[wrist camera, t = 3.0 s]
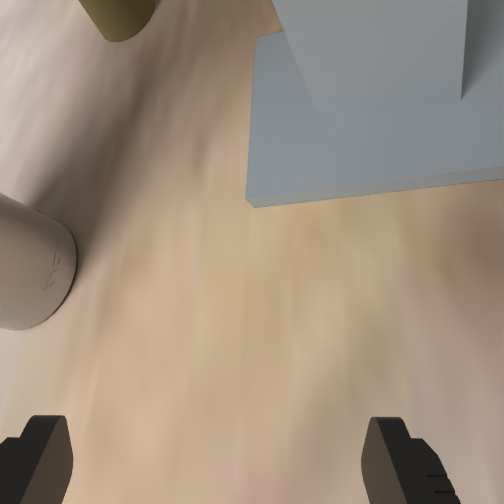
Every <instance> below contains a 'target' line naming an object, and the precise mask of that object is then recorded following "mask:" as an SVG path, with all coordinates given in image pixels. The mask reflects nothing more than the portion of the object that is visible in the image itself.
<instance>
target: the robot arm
mask: <svg viewBox="0 0 504 504" xmlns="http://www.w3.org/2000/svg"><path fill="white" fill-rule="evenodd" d="M76 259H77V256H76V246H75V243H74V240H73V237H72V235H71V234H70V232H69V230H68V229H67V228H66V227H65V226H64V225H62V224H61V223H59V222H57V221H55V220H53V219H51V218H49V217H47V216H45V215H43V214H41V213H39V212H37V211H35V210H33V209H31V208H29V207H27V206H25V205H23V204H21V203H19V202H18V201H15V200H13V199H11V198H9V197H7V196H5V195H3V194H1V193H0V328H4V329H10V330H25V329H28V328H32V327H34V326H36V325H38V324H40V323H41V322H43V321H44V320H45V319H46V318H48V317H49V316H50V315H51V314H52V313H53V312H54V311H55V310H56V309H57V308H58V306H59V305H60V304H61V302H62V301H63V299H64V297H65V296H66V294H67V292H68V290H69V288H70V286H71V283H72V280H73V277H74V273H75V269H76ZM361 468H362V476H363V481H364V484H365V488H366V491H367V495H368V498H369V502H370V504H461V503H460V500H459V498H458V496H457V495H455V490H454V488H453V486H452V484H451V482H450V480H449V479H448V478H447V473H446V471H445V469H444V467H443V465H442V463H441V461H440V459H439V457H438V455H437V454H436V453H435V452H434V451H433V450H432V449H431V447H430V446H429V445H428V444H427V443H426V442H425V441H424V440H423V439H418V438H411V437H410V435H409V433H408V430H407V428H406V426H405V423H404V421H403V420H402V419H401V418H400V417H372V418H371V419H370V422H369V426H368V430H367V434H366V439H365V443H364V447H363V452H362V457H361ZM72 469H73V452H72V447H71V442H70V436H69V431H68V426H67V421H66V418H65V416H61V415H34V416H32V417H31V418H30V419H29V421H28V423H27V424H26V426H25V428H24V430H23V432H22V434H21V436H20V438H16V437H7V438H6V439H5V440H4V441H3V442H2V443H1V444H0V504H62V501H63V498H64V496H65V493H66V490H67V487H68V485H69V482H70V479H71V475H72Z"/></svg>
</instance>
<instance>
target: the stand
mask: <svg viewBox="0 0 504 504" xmlns="http://www.w3.org/2000/svg"><path fill="white" fill-rule="evenodd" d="M272 3H273V5H274V8H275V10H276V13H277V15H278V18H279V20H280V23H281V25H282V27H283V30H284V31H281V32H277V33H274V34H270V35H266V36H262V37H259V38H255V53H254V70H253V86H252V103H251V119H250V136H249V153H248V169H247V186H246V199H247V201H248V202H249V203H250V204H251V205H252V206H253V207H254V208H258V207H267V206H275V205H284V204H292V203H301V202H309V201H318V200H326V199H335V198H343V197H352V196H360V195H369V194H377V193H386V192H394V191H403V190H411V189H420V188H428V187H437V186H446V185H454V184H463V183H471V182H480V181H488V180H497V179H504V0H272Z"/></svg>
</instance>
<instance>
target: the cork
mask: <svg viewBox="0 0 504 504" xmlns="http://www.w3.org/2000/svg"><path fill="white" fill-rule="evenodd" d="M79 2H80V3H81V5H82V6H83V7H84V9H85V10H86V12H87V13H88V15H89V16H90V18H91V19H92V21H93V22H94V23H95V25H96V26H97V28H98V29H99V31H100V32H101V34H102V35H103V36H104V38H105V39H106V40H108V41H110V42H120V41H123V40H127V39H129V38H130V37H132V36H134V35H135V34H137V33H138V32H139V31H140V30H141V29H142V28H143V27H144V26H145V25H146V23H147V22H148V21H149V19H150V17H151V15H152V13H153V11H154V4H155V2H154V0H79Z"/></svg>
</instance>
